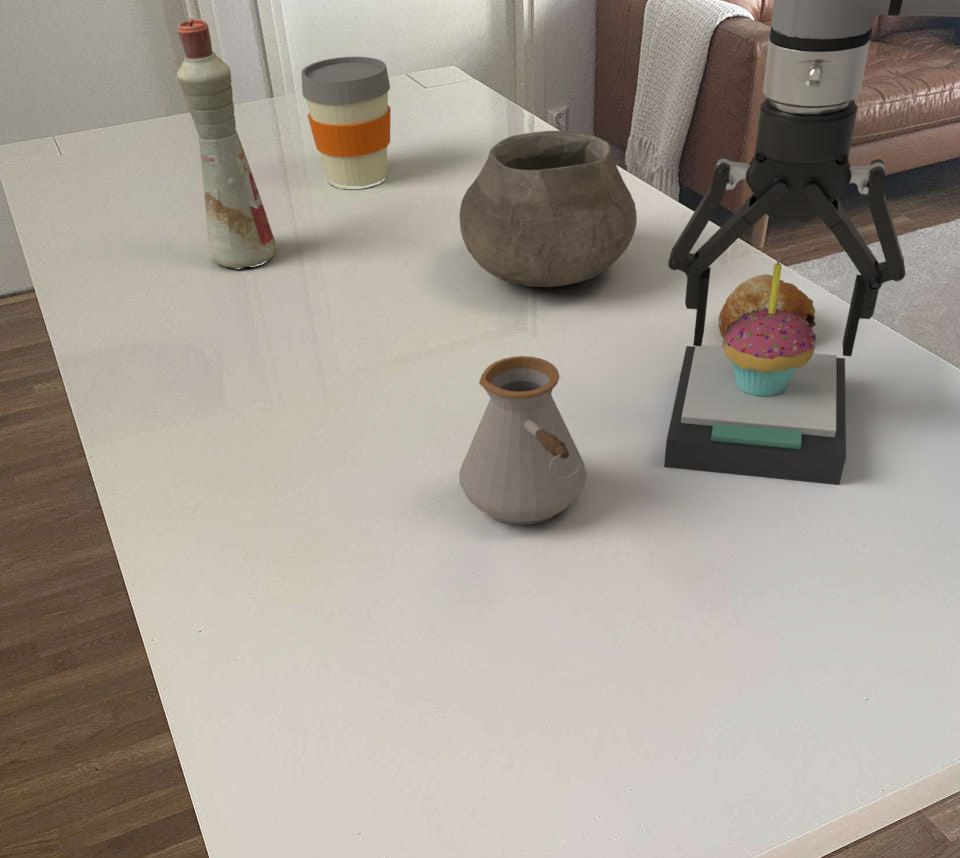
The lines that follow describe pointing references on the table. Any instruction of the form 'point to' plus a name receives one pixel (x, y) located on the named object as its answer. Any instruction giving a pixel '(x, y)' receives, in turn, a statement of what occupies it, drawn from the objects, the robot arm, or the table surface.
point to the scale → (759, 421)
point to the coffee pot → (522, 446)
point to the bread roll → (764, 301)
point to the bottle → (222, 156)
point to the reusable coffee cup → (349, 117)
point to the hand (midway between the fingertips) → (771, 344)
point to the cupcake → (768, 346)
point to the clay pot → (548, 209)
